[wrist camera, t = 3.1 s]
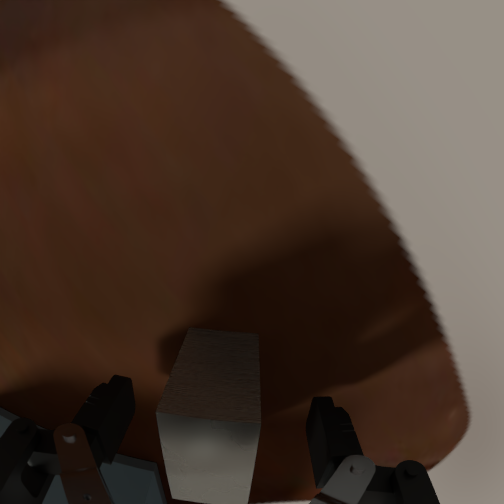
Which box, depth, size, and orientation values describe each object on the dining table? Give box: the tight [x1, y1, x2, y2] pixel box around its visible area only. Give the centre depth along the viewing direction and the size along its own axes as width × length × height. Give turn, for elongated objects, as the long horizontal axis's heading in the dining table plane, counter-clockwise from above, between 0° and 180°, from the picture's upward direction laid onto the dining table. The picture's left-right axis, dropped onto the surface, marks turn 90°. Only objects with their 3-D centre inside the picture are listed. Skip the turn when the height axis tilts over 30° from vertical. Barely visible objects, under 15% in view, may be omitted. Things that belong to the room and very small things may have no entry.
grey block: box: [156, 327, 261, 504], centre depth 11 cm, size 6×3×6 cm, turn 175°
